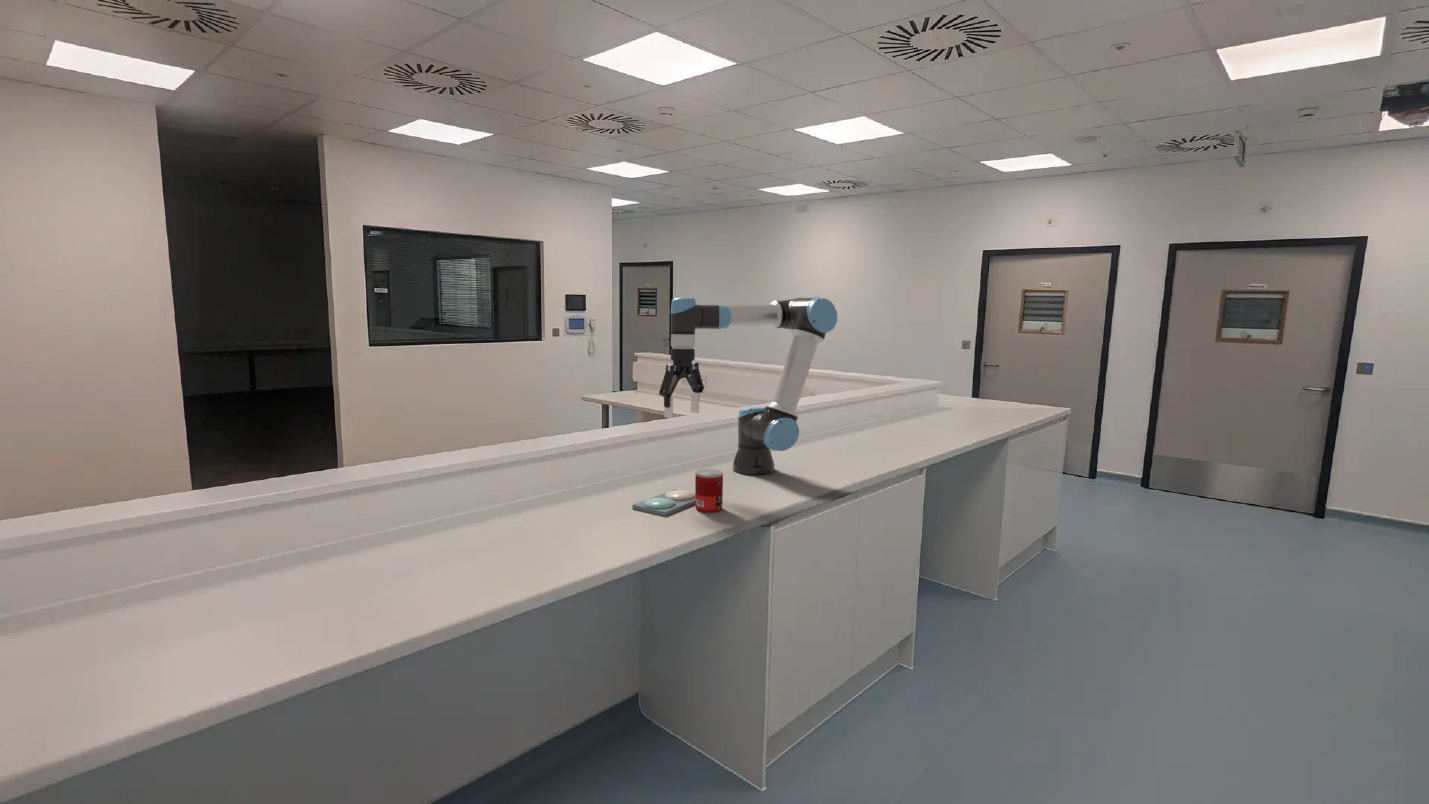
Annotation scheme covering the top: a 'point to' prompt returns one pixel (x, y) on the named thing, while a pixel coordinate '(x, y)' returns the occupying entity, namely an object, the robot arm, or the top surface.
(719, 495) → the canned food
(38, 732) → the top surface
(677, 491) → the board
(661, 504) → the pad
